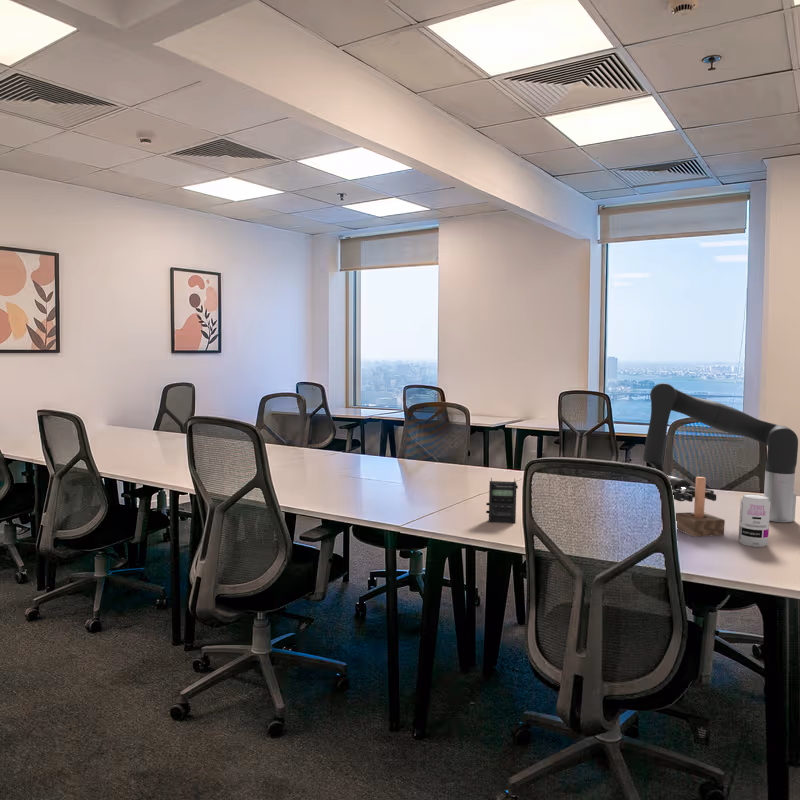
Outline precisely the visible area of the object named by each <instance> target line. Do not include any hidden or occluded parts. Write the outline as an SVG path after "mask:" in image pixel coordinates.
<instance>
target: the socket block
mask: <svg viewBox="0 0 800 800" xmlns="http://www.w3.org/2000/svg"><path fill="white" fill-rule="evenodd" d="M675 513H676V521H677V528H678V529H679V530H678V529H677V530H678V531H680V530H681V532H682V531H684V532H683V533H685V532H686V533H685V534H687V533H688V534H687V535H689V534H690V535H689V536H691V535H692V537H711V536H710V535H716V536H725V524H726V523H725V521H726V520H725V519H723V518H720V517H718V516H715V515H713V514H710V513H707V512H705V511H704V518H696V517H694V511H692V512H690V511H689V512H675Z"/></svg>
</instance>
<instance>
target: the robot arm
mask: <svg viewBox="0 0 800 800" xmlns="http://www.w3.org/2000/svg"><path fill="white" fill-rule="evenodd" d="M649 398H650V403H651V405H650V408H651V410H650V418H649V425H648V426H649V427H648V429H647V433H646V438H645V444H644V448H643V456H642V460H643V461H644V462H645V463H648V464H649V465H651V468H652V467H653V468H656V469H658V470H661V471H663V472H664V473H665V470H664V469H665V468H664V455H665V449H666V441H667V431H668V426H669V425H668V424H669V419H670V415H671V412H672V411H673V412H675V413H680V414H681V415H682V414H683V415H685V416H687V417H689V418H691V419H693V420H695V421H697V422H699V423H701V424H703V425H706V426H708V427H710V428H713V429H715V430H718V431H721V432H724V433H727V434H731V435H736V436H741V437H745V438H748V439H749V438H750V439H751V440H754V441H756V442H759V443H761V444H763V445H765V446H767V453H766V454H767V455H766V456H767V457H766V461H765V462H766V463H765V469H764V471H765V472H764V487H763V488H764V490H763V496H767V497H768V499H769V501H770V517H769V522H774V523H782V524H783V523H785V524H787V523H791V522H795V521H796V504H797V494H796V493H795V478H796V477H795V476H796V468H797V463H798V452H799V437H798V435H797V434H796V432H795V431H793V430H792V429H791V428H790V427H787V426H786V425H782V424H781V425H780V424H776V423H772V422H768V421H764V420H761V419H757V418H755V417H753V416H752V415H749V414H747V413H745V412H743V411H741V410H738V409H736V408H734V407H731V406H729V405H726V404H724V403H721V402H718V401H715V400H710V399H706V398H701V397H696V396H693V395H690V394H687V393H685V392H683V391H680V390H678V389H677V388H674V386H673V385H671V384H669V383H666V382H662V383H658V384H656V385H655V386H653V387H652V389H651V390H650V392H649ZM666 475H667V476H668V478H669V479H670V482H671V485H672V490H673V495H674V499H673V500H675V501H677V502H686V501H687V502H690V503H691V502H693V499H695V486H692V485H691V483H690V482H689V481H688V480H686V479H682V478H679V477H677V476H672V475H668V474H666ZM705 500H710V501H712V502H716V501H717V494H715V491H714V490H711V489H708V488H706V487H705Z"/></svg>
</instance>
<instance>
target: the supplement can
mask: <svg viewBox="0 0 800 800" xmlns="http://www.w3.org/2000/svg"><path fill="white" fill-rule="evenodd" d="M769 517H770V501H769V499H768V497H767V496H764V494H763V495H762V494H754V493H746V494H745V493H744V494H743V495H742V497H741V499H740V504H739V522H738V524H739V526H738V541H739V542H740V544H741V545H744V546H746V545H747V546H746V547H751V546H753V547H752V548H764V547H763V546H765V547H766V546H767V545H769V531H770V521H769Z"/></svg>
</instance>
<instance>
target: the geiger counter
mask: <svg viewBox="0 0 800 800" xmlns="http://www.w3.org/2000/svg"><path fill="white" fill-rule="evenodd" d="M492 479H493V478H492V477H490V481H489V489H488V491H489V492H488V493H489V495H488V496H489V497H488V498H489V499H488V502H486V505H485V506H488V510H486V511H485V514H488V523H501V524H502V523H503V524H516V521H517V519H516V518H517V512H516V511H517V489H519V487H518V486H519V485H518V484H517V482H516V478H514V481H500V480H498V481H497V480H496V481H495V480H492Z"/></svg>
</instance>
